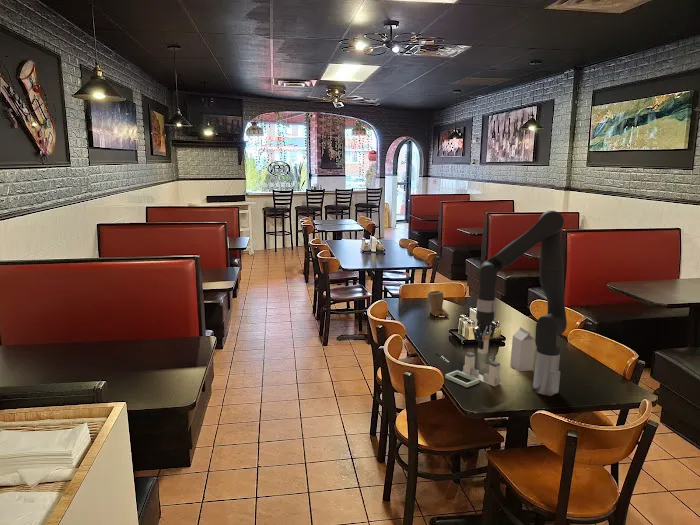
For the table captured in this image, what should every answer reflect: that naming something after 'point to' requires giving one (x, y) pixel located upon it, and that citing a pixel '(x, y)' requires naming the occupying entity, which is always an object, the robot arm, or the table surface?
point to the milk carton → (522, 350)
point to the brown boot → (437, 303)
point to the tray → (473, 379)
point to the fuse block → (470, 370)
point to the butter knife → (444, 358)
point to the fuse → (485, 346)
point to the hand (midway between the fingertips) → (483, 347)
